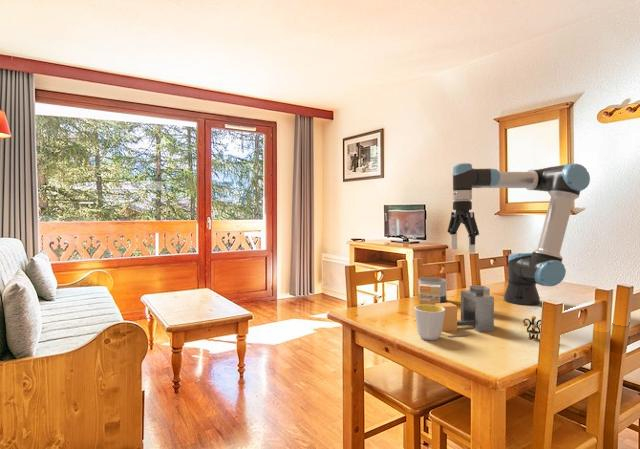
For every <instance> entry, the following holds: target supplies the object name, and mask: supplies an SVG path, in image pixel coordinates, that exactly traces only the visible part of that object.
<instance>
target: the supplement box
mask: <svg viewBox="0 0 640 449" xmlns="http://www.w3.org/2000/svg"><path fill="white" fill-rule="evenodd" d="M440 287H441V285H429V284H420V295H419V294H418V295H419V298H418V299H419V302H418V303H419V304H418V305H422V304H430V305H435V303H440Z"/></svg>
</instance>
